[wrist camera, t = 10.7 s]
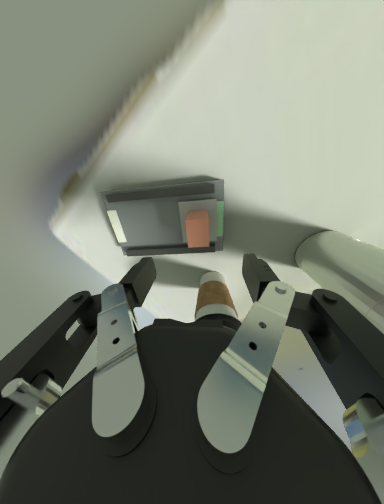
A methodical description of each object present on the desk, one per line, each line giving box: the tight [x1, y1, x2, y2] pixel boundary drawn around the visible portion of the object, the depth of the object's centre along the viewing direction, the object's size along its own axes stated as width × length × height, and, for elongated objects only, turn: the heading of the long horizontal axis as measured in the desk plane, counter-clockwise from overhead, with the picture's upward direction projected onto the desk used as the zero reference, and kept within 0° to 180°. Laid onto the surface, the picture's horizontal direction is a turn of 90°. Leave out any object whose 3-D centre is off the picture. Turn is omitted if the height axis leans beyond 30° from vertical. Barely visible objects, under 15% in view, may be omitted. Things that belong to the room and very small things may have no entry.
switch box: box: [100, 180, 224, 256], centre depth 25 cm, size 20×12×4 cm, turn 95°
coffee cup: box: [195, 271, 241, 332], centre depth 27 cm, size 8×8×15 cm
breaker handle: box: [178, 199, 217, 248], centre depth 21 cm, size 6×7×6 cm
